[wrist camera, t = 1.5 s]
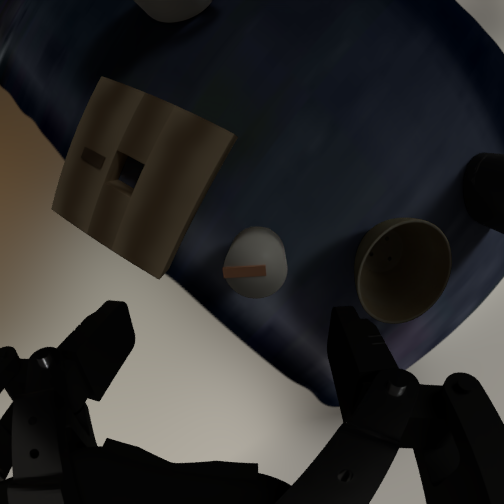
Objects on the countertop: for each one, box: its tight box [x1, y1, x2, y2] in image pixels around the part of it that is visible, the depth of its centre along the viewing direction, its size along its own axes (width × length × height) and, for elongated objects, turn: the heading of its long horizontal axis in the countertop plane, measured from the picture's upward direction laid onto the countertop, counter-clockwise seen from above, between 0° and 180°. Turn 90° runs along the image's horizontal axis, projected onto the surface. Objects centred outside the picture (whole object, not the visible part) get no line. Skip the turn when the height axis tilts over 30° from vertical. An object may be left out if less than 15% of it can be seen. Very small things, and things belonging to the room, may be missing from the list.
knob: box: [223, 227, 287, 298], centre depth 25 cm, size 5×5×8 cm
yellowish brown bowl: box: [354, 218, 452, 324], centre depth 25 cm, size 10×10×7 cm
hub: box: [52, 76, 238, 279], centre depth 25 cm, size 16×16×3 cm
